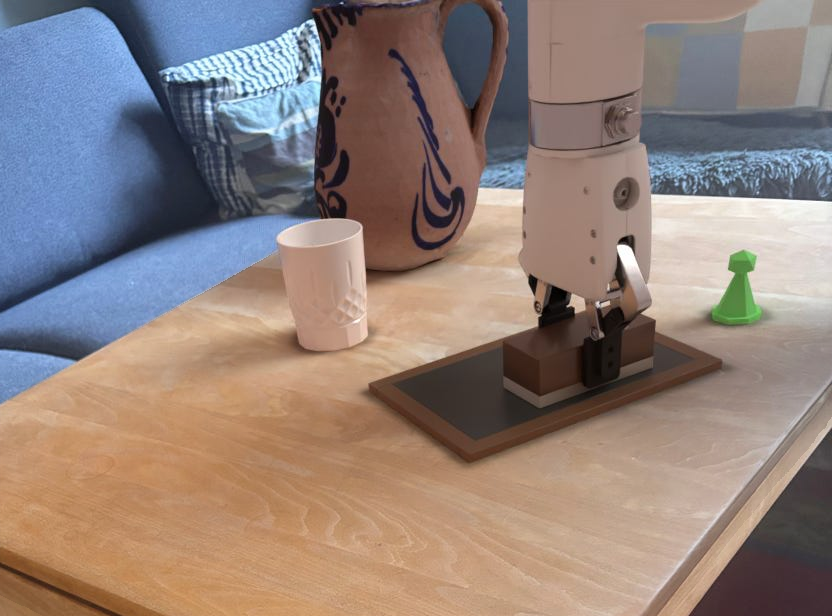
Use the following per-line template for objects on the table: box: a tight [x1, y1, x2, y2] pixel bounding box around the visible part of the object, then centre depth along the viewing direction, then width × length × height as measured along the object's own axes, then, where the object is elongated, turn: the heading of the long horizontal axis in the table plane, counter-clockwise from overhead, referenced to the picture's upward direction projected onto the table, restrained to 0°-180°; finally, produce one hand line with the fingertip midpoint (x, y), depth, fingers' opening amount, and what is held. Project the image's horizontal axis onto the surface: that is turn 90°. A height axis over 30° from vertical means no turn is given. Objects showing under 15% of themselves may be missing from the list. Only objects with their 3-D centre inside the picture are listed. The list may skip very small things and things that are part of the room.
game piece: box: [710, 249, 763, 326], centre depth 84 cm, size 4×4×6 cm
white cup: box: [275, 219, 369, 352], centre depth 90 cm, size 8×8×10 cm
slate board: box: [368, 309, 723, 464], centre depth 80 cm, size 24×16×1 cm, turn 117°
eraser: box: [503, 304, 657, 409], centre depth 77 cm, size 11×5×4 cm, turn 117°
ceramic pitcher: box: [311, 0, 510, 272], centre depth 102 cm, size 18×21×25 cm
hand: (578, 368), depth 78 cm, fingers closed on eraser, 5 cm apart
